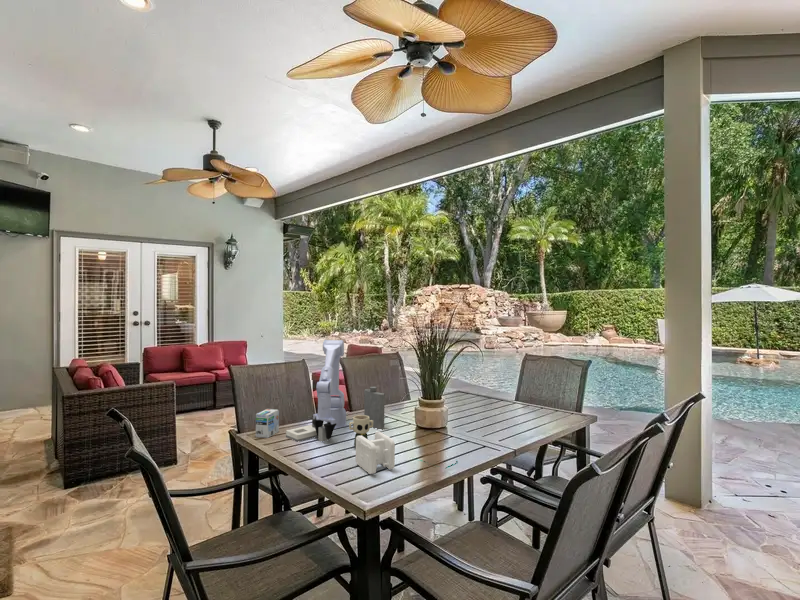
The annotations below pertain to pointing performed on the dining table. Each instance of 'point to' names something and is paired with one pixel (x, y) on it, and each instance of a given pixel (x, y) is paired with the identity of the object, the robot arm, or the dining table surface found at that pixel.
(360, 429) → the character mug
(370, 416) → the hip flask
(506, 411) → the dining table surface
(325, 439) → the plug
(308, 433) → the power strip
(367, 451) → the cable organizer
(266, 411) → the light bulb box
